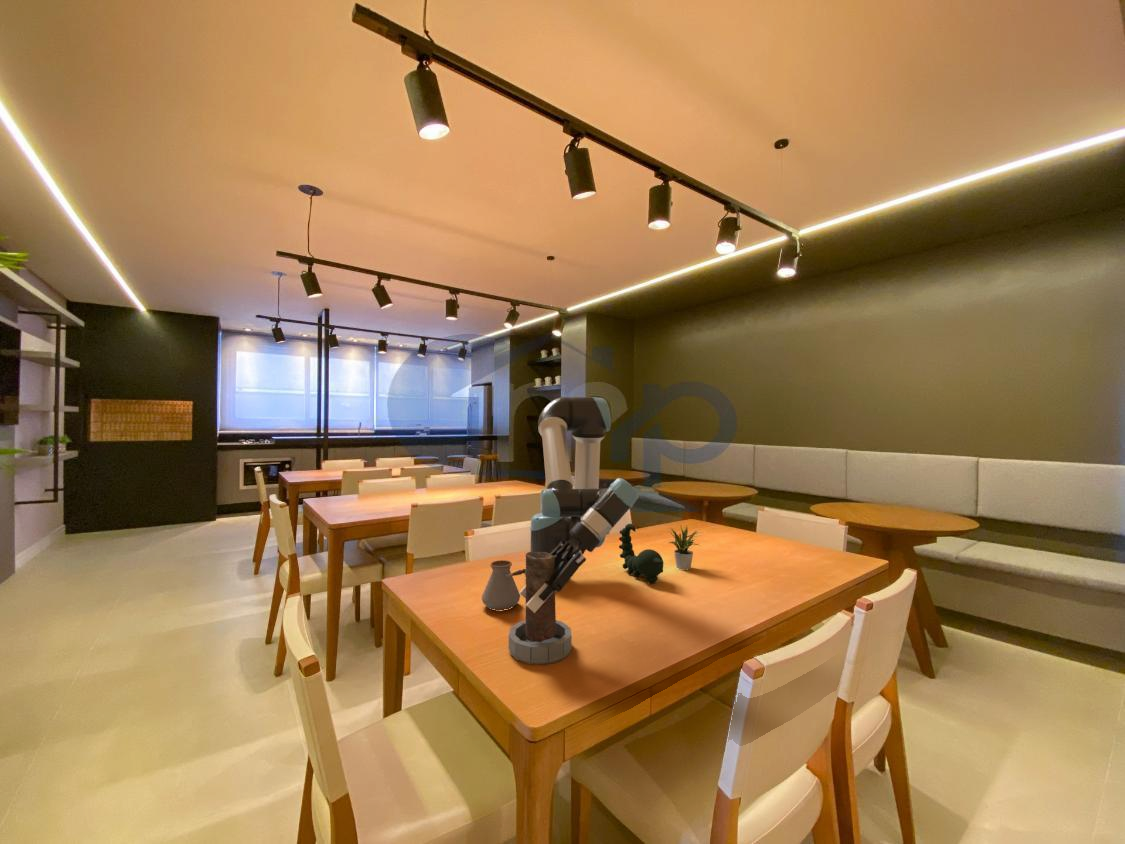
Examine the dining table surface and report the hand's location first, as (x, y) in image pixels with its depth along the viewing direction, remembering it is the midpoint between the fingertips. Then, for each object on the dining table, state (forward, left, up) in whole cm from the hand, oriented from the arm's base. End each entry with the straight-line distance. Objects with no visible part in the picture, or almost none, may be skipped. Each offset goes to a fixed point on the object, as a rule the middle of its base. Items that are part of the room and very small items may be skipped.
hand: (526, 602), depth 107 cm
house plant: (+19, +82, -12) cm, 85 cm away
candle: (+2, +2, -9) cm, 9 cm away
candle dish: (+2, +2, -12) cm, 12 cm away
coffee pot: (-17, +16, -12) cm, 26 cm away
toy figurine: (+7, +64, -12) cm, 66 cm away
